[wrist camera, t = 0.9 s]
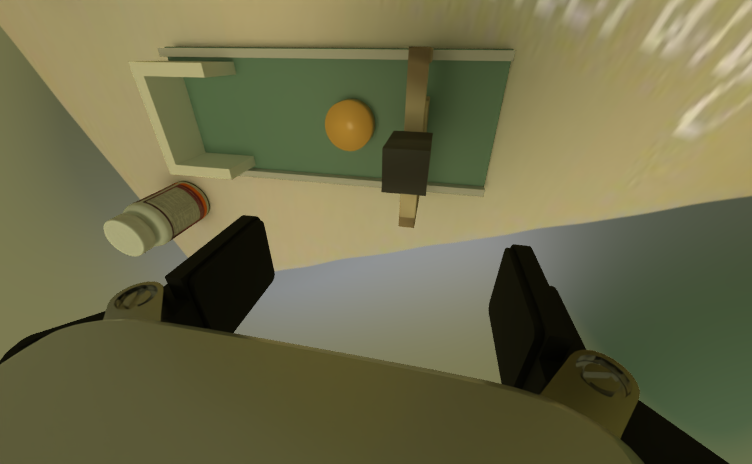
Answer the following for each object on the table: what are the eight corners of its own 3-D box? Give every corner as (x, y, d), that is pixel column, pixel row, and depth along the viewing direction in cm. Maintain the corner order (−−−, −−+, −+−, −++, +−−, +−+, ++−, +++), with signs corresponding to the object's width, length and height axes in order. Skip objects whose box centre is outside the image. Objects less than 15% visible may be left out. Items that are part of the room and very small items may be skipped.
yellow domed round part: (329, 98, 31) (322, 100, 30) (375, 98, 30) (370, 101, 29) (333, 145, 34) (327, 150, 32) (375, 147, 33) (371, 152, 31)
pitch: (174, 47, 33) (121, 45, 28) (510, 49, 27) (526, 48, 22) (210, 166, 40) (174, 184, 35) (480, 188, 35) (487, 214, 29)
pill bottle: (180, 214, 46) (112, 256, 37) (167, 178, 43) (88, 213, 33) (215, 219, 45) (155, 263, 36) (204, 182, 42) (135, 220, 33)
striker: (409, 48, 27) (384, 44, 16) (442, 48, 26) (441, 45, 15) (401, 188, 34) (380, 256, 23) (427, 191, 34) (418, 261, 22)
